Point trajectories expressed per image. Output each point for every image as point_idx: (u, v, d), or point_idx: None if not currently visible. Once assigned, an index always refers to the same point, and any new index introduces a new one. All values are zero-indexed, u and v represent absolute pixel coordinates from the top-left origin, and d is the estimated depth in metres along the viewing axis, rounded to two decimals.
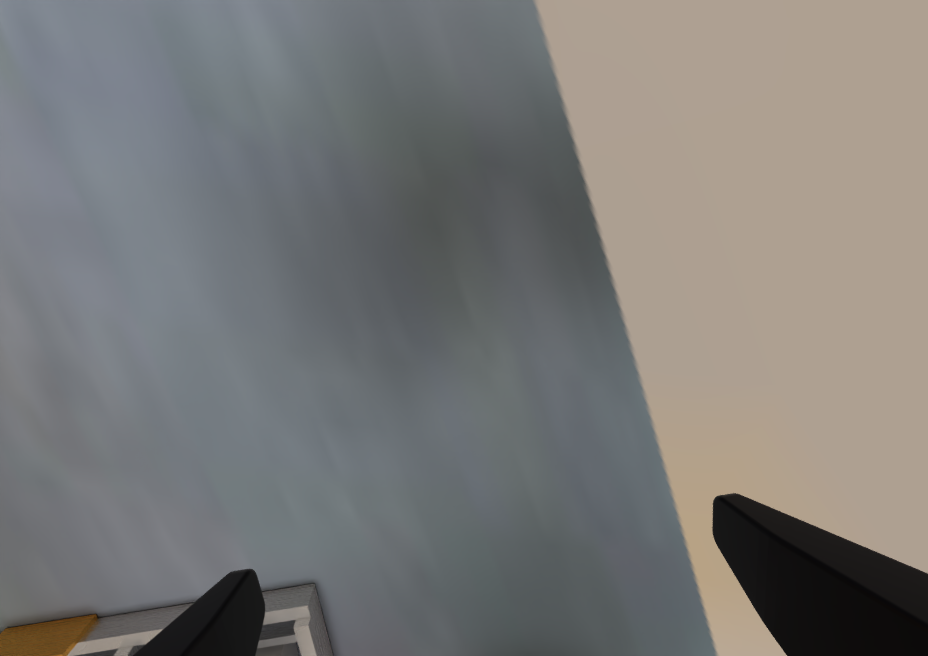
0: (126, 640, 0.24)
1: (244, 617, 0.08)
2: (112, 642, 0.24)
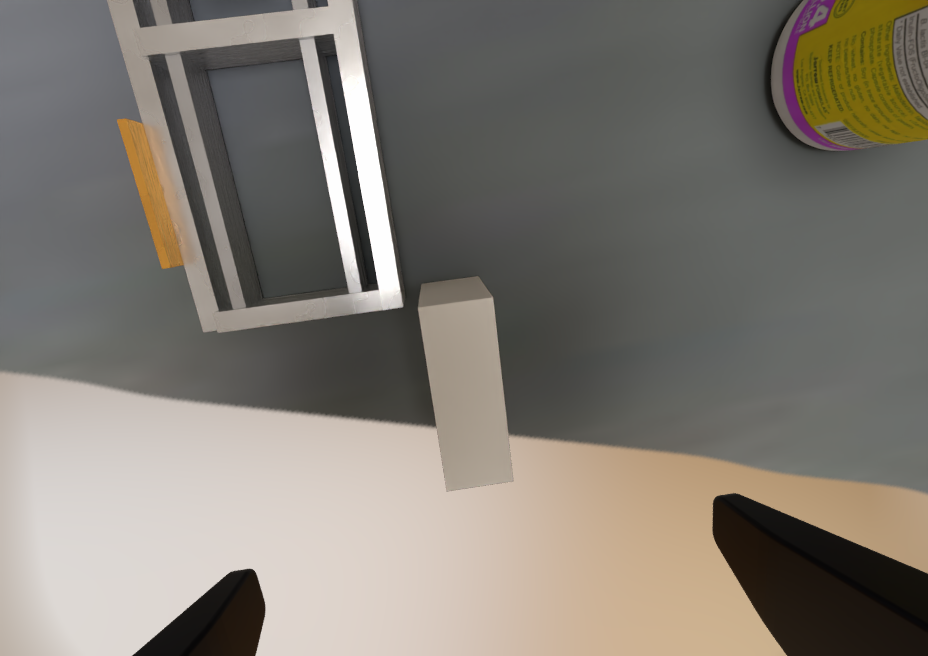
0: (131, 44, 0.15)
1: (244, 617, 0.08)
2: (137, 68, 0.15)
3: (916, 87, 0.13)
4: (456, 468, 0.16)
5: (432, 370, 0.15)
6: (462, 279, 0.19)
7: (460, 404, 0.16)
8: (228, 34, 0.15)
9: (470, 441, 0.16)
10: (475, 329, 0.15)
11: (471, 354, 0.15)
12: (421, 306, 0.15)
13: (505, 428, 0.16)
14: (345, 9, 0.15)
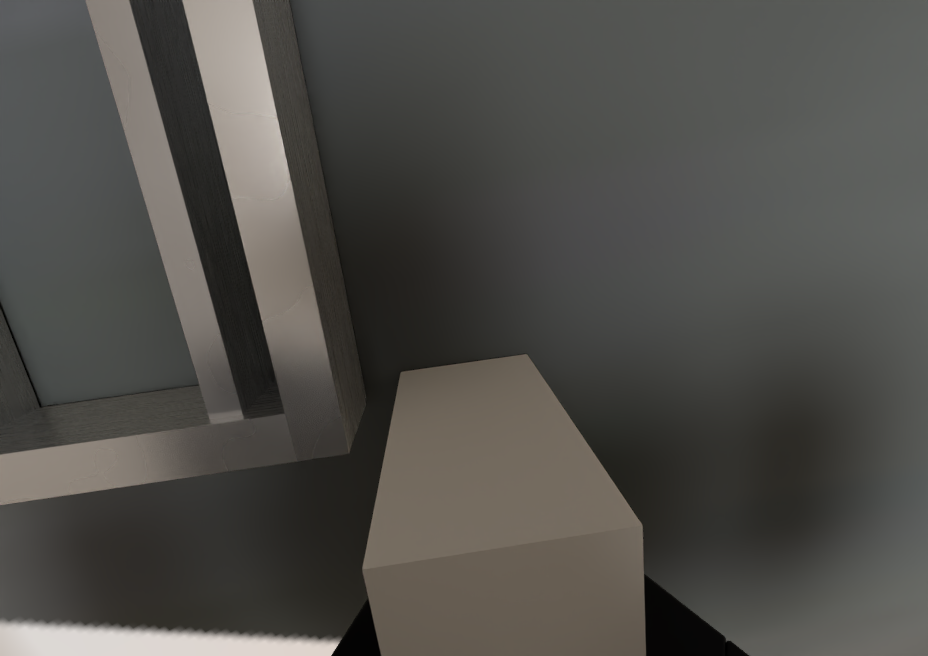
0: None
1: None
2: None
3: None
4: None
5: None
6: (494, 366, 0.08)
7: None
8: None
9: None
10: (571, 627, 0.04)
11: None
12: (377, 555, 0.04)
13: None
14: None
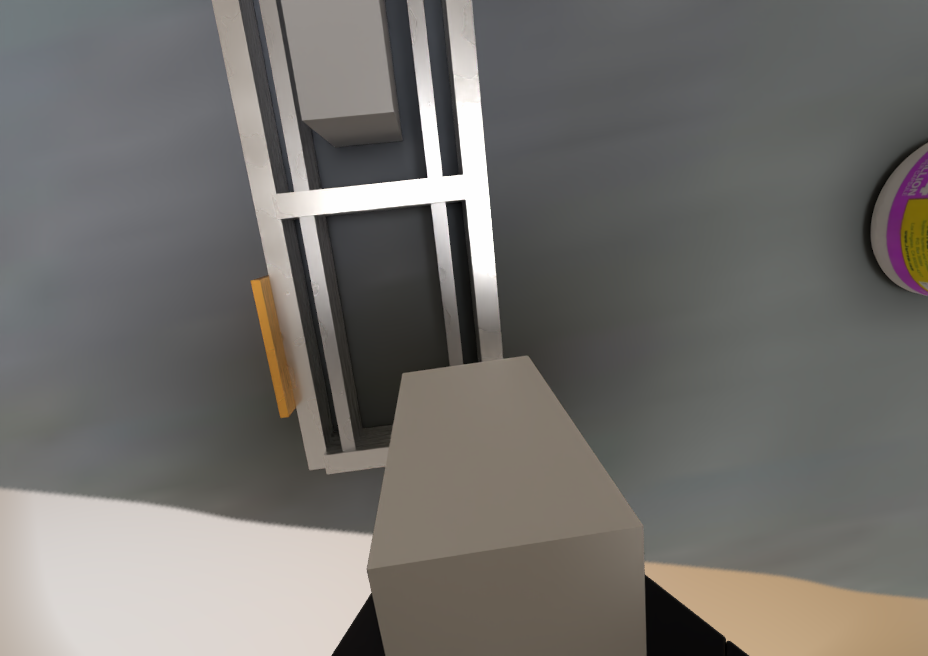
0: (265, 203, 0.15)
1: None
2: (269, 226, 0.15)
3: None
4: None
5: None
6: (495, 367, 0.08)
7: None
8: (364, 199, 0.15)
9: None
10: (572, 626, 0.04)
11: None
12: (381, 555, 0.04)
13: None
14: (479, 177, 0.15)
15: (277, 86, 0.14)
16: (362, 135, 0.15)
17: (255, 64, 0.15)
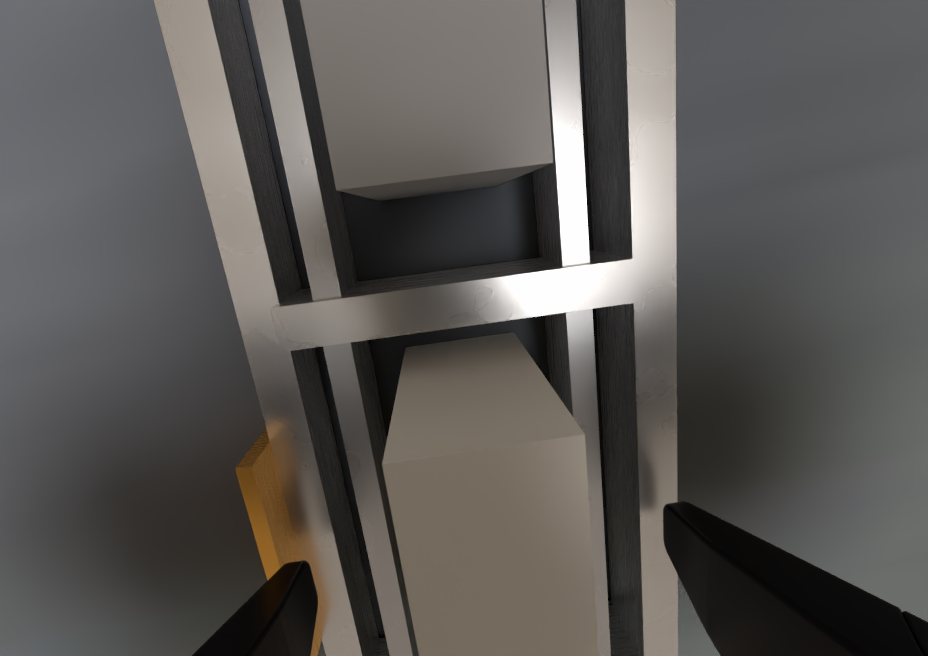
0: (257, 318, 0.08)
1: (302, 608, 0.08)
2: (267, 356, 0.08)
3: None
4: None
5: (423, 610, 0.06)
6: (484, 340, 0.10)
7: None
8: (445, 311, 0.08)
9: None
10: (535, 513, 0.06)
11: (522, 572, 0.06)
12: (392, 457, 0.06)
13: None
14: (661, 263, 0.08)
15: (275, 100, 0.07)
16: (440, 189, 0.08)
17: (230, 55, 0.08)
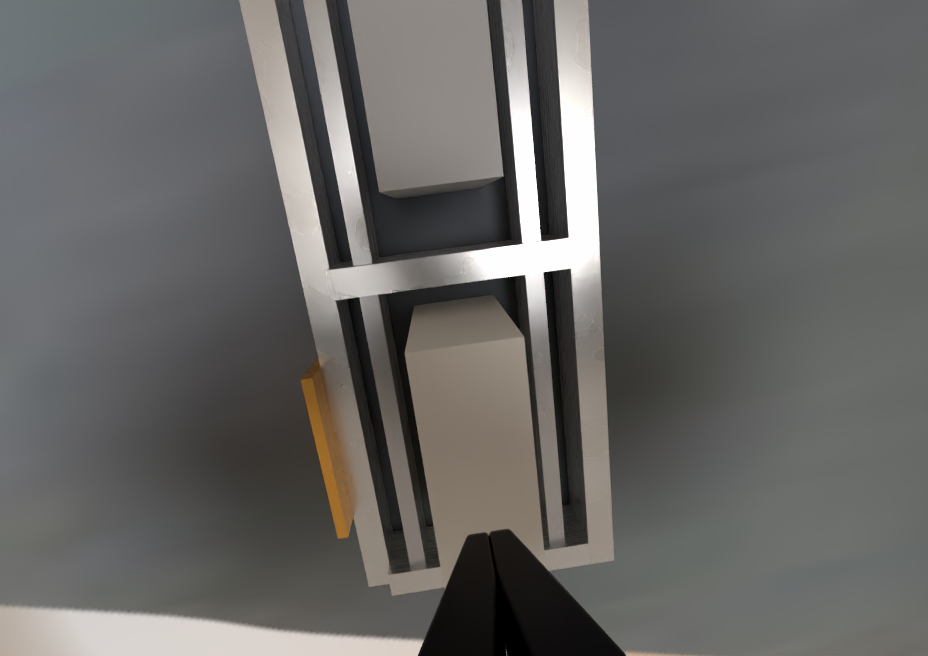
0: (314, 279, 0.12)
1: None
2: (320, 306, 0.12)
3: None
4: None
5: (428, 448, 0.10)
6: (471, 299, 0.14)
7: (471, 498, 0.10)
8: (442, 273, 0.12)
9: None
10: (495, 386, 0.10)
11: (488, 424, 0.10)
12: (410, 350, 0.09)
13: (539, 531, 0.11)
14: (589, 241, 0.12)
15: (331, 133, 0.11)
16: (439, 190, 0.12)
17: (299, 102, 0.11)
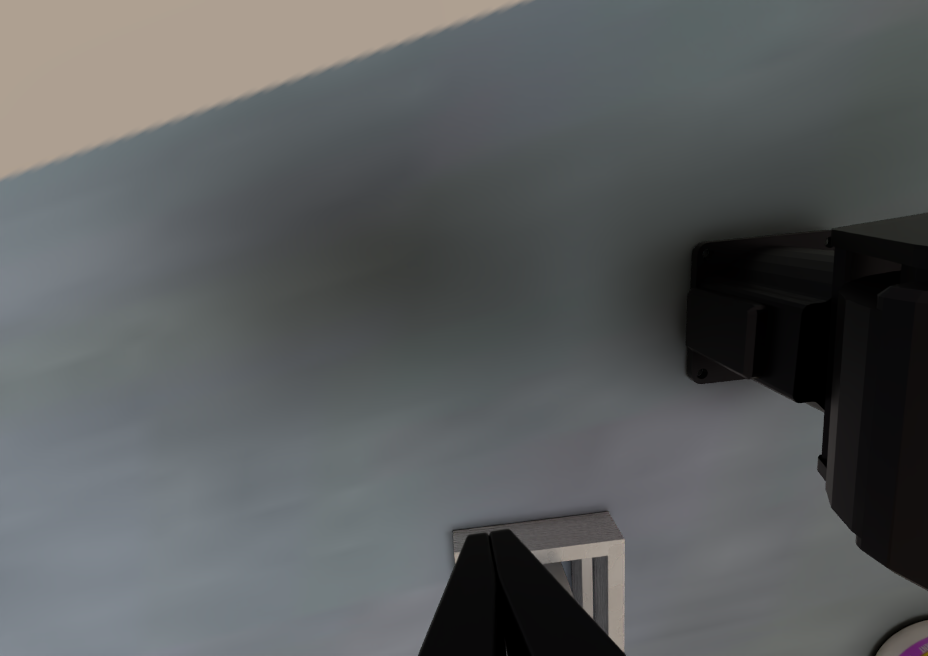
0: None
1: None
2: None
3: None
4: None
5: None
6: None
7: None
8: None
9: None
10: None
11: None
12: None
13: None
14: None
15: None
16: None
17: None
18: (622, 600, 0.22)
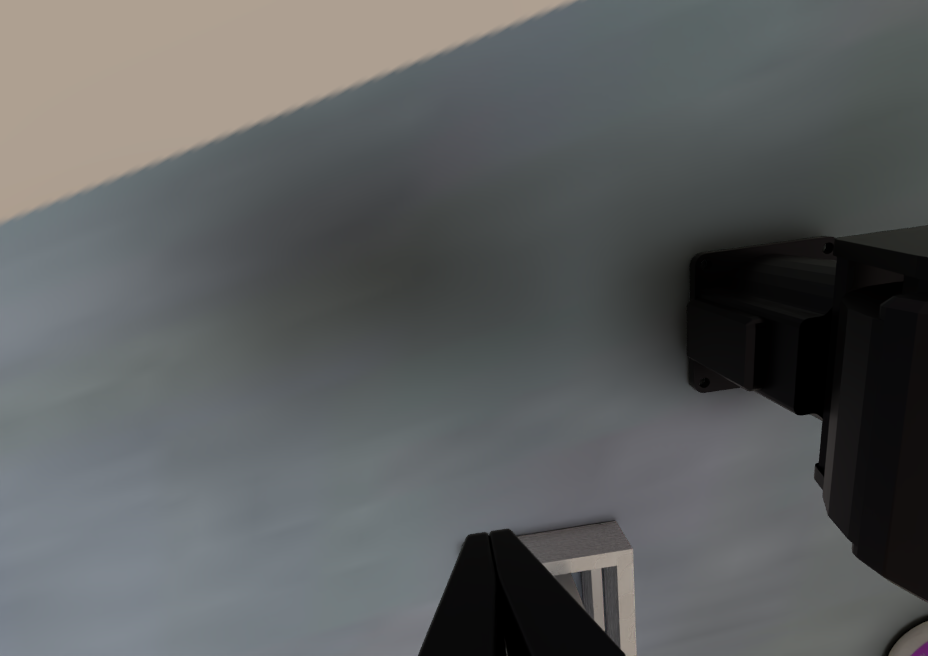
0: None
1: None
2: None
3: None
4: None
5: None
6: None
7: None
8: None
9: None
10: None
11: None
12: None
13: None
14: None
15: None
16: None
17: None
18: (633, 609, 0.22)
